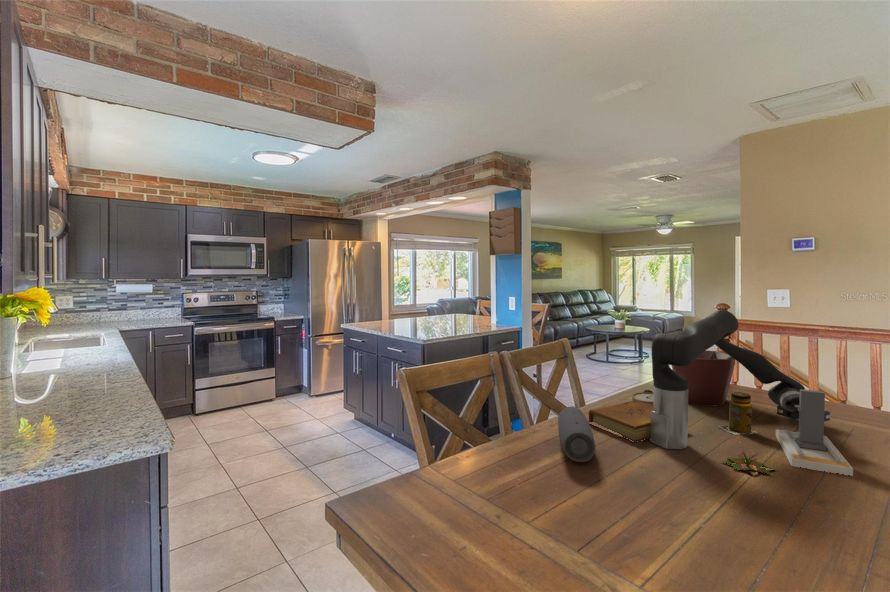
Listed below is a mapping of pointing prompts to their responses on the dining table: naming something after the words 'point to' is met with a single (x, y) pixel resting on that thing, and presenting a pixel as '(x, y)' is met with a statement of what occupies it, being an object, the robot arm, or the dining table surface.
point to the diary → (625, 419)
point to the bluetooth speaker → (576, 434)
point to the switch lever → (811, 420)
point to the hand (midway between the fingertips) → (810, 421)
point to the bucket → (708, 377)
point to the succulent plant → (747, 463)
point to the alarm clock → (644, 396)
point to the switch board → (813, 455)
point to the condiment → (740, 414)
